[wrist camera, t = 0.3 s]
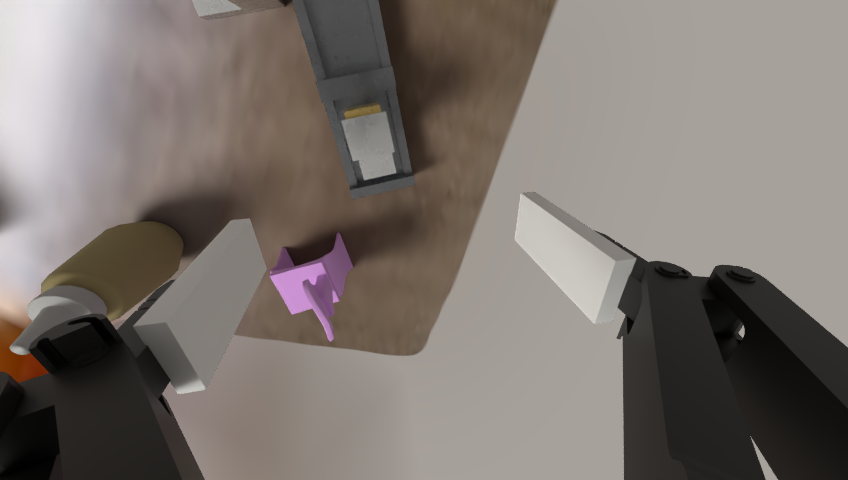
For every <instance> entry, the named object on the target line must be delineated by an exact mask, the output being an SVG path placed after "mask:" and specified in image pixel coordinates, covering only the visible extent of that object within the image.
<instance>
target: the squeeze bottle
mask: <svg viewBox="0 0 848 480" xmlns="http://www.w3.org/2000/svg"><path fill="white" fill-rule="evenodd" d="M183 247H184V244H183V241H182V238H181V236H180V235H179V234H178V233H177V232H176V231H175V230H174V229H172V228H171V227H169V226H168V225H166V224H163V223H159V222H156V221H143V222H136V223H129V224H123V225H118V226H115V227H113V228H110V229H107V230H105V231H104V232H103V233H102V234H100V235H99V236H98V237H97V238H95V239H94V240H93V241H91V242H90V243H89V244H88V245H86V246H85V247H84V248H83V249H81V250H80V251H79V252H77V253H76V254H75V255H74V256H72V257H71V258H70V259H69V260H67V261H66V262H65V263H63V264H62V265H61V266H60V267H58V268H57V269H56V270H55V271H53V272H52V273H51V274H49V275H48V276H47V278H46V279H45V280H44V281H43V282H42V284H41V295H39V296H38V297H36V298H35V299H33V300H32V301H31V302H30V304H29V305H28V316H29V317H30V318H31V320H32V322H31V323H30V324H29V326H28V327H27V328H26V329H25V330H24V331H23V332H22V334H21V335H20V336H19V337H18V338H17V339H16V340H15V342H14V343H13V344H12V345H11V346H10V349H11V351H12V352H14V353H16V354H21V355H25V354H28V353H30V352H29V351H28V349H29V347H30V344H31V343H32V342H33V341H34V340H35V339H36V338H37V337H38V336H40V335H41V334H43V333H44V332H46V331H47V330H49V329H51V328H52V327H54V326H56V325H59V324H61V323H63V322H65V321H67V320H70V319H73V318H76V317H79V316H83V315H89V314H103V315H105V316H106V317H107V318H108V319H109V321H113V320H115V319H118V318H120V317H121V316H122V315H124V314H125V313H126V312H127V311H129V310H130V309H131V308H132V307H134V306H135V305H136V304H138V303H139V302H140V301H141V300H143V299H144V298H145V297H146V296H148V295H149V294H150V293H152V292H153V291H154V290H155V289H157V288H158V287H159V286H160V285H162V284H163V283H164V282H166V281H167V280H168V279H169V278H171V277H172V276H173V275H174V274H175V272H176V271H177V270H178V268H179V264H180V260H181V256H182V252H183Z"/></svg>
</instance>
